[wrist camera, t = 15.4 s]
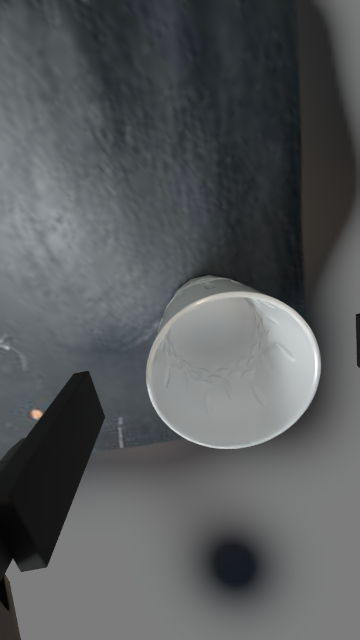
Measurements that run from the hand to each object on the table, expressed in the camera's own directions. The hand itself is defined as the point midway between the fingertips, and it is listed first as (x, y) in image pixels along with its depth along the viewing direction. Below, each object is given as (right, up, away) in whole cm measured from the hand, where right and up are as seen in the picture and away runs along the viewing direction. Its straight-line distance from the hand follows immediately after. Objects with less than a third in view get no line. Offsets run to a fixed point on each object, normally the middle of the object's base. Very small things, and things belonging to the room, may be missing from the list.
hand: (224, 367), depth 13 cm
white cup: (0, +3, +9) cm, 9 cm away
